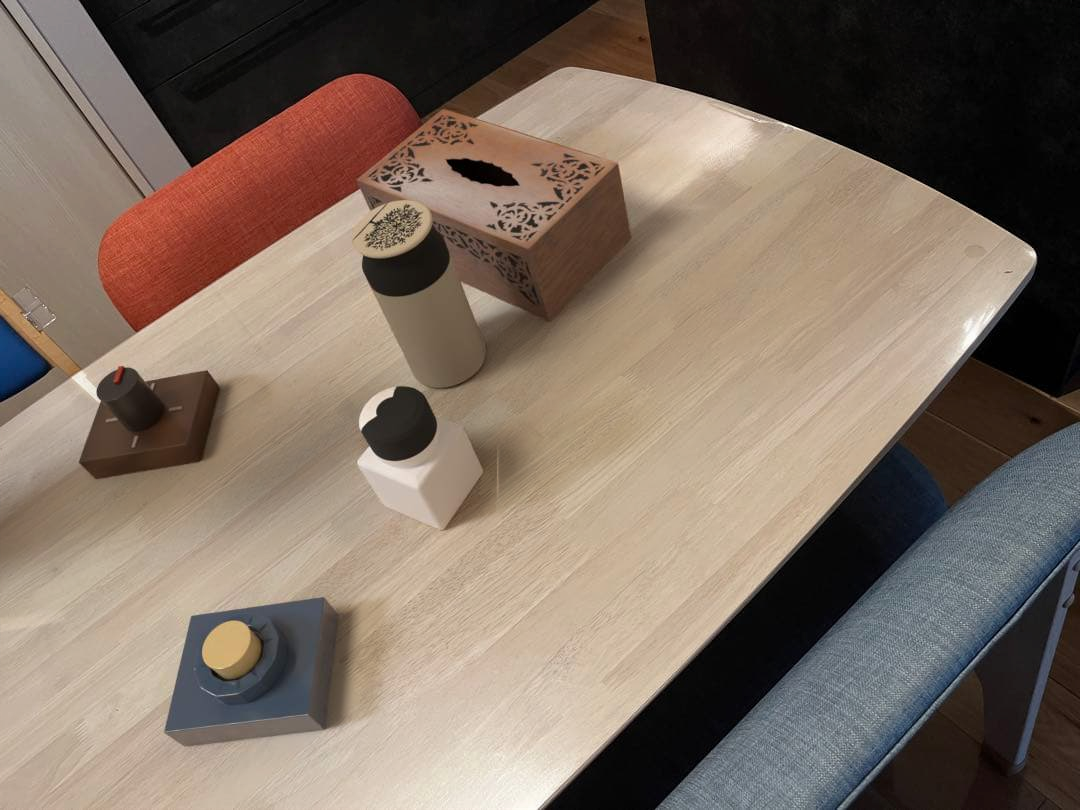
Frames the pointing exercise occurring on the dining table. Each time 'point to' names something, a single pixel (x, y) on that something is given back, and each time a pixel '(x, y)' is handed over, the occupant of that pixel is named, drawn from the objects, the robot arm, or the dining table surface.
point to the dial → (130, 399)
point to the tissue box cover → (508, 207)
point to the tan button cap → (232, 649)
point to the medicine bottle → (416, 457)
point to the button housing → (257, 676)
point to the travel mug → (420, 292)
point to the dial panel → (155, 430)
